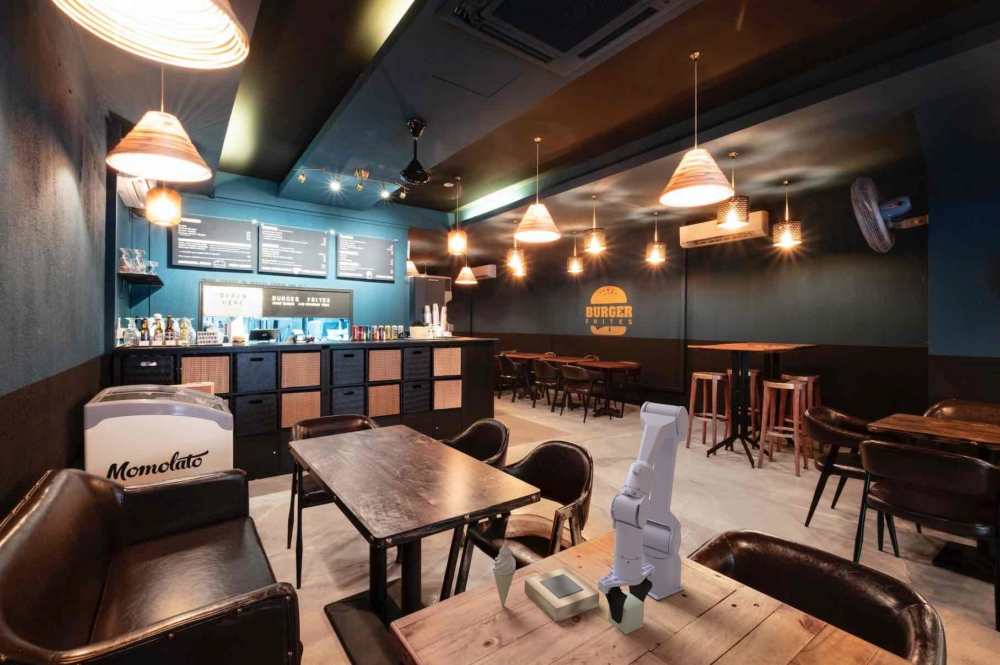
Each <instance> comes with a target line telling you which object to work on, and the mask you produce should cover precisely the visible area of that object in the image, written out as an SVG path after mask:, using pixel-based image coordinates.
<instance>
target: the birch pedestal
mask: <svg viewBox="0 0 1000 665" xmlns="http://www.w3.org/2000/svg"><path fill="white" fill-rule="evenodd" d="M523 593H525V594H526V596H528V597H529V598H530V599H531V600H532V601H533V602H534V604H536V605H537V606H538V607H539V608H540V609H541V610H542V611H543V612H544V613H545V614H546V615H547V616H548V617H550V619H551V620H552V621H553V622H555V623H559V622H561V621H564V620H567V619H569V618H572V617H574V616H576V615H579V614H583V613H584V612H588V611H589V610H592V609H596V608H597V607H599V606H600V592H599V591H598V590H597V589H595V588H594V587H592V586H591V585H590V584H589V583H587V581H585V580H584V579H582V577H581V578H580V577H579V575H577V574H576V573H574V571H571V569H569V568H568V567H566V566H564V567H562V568H557V569H555V570H551V571H548V572H544V573H541V574H538V575H535V576H533V577H529V578H526V579H524V592H523Z"/></svg>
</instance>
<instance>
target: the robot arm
mask: <svg viewBox="0 0 1000 665" xmlns="http://www.w3.org/2000/svg"><path fill="white" fill-rule="evenodd" d="M639 413H640V414H639V419H640V421H639V422H640V425H641V429H642V431H643V433H642V436H641V441H640V446H639V450H638V454H637V458H636V461H634V462H632V463H631V464H629V466H628V470H627V472H626V476H625V478H624V481H623V484H622V486H621V490H620V493H619V494H616V495H614V497H613V498H612V501H611V506H610V517H611V520H612V529H614V548H613V550H614V551H613V564H612V565H611V567H610V569H611V571H609V572H608V573H607V574H606V575H605V576H603V578H601V579H599V580H598V582H597V584H598V586H597V587H598V588H597V589H598V590H599V591H600V592H601V593H602V594H604V595H605V598H606V601H607V604H608V609H609V608H610V612H611V617H612V619H613V620H614V621H615V622H617V623H618V624H619V623H621V621H622V614H623V607H624V603H625V600H626V598H627V595H626V594H624V593H623V591H622V588H621V587H628V590H629V591H628V592H629V593H631V594H632V595H634V596H635V597H636V598H638V599H639V600H641V601H642V602H643V603H644V604H645V600H646V598H647V596H649V597H651V598H653V599H654V600H655V601H659V600H662V599H664V598H667V597H668V596H671V595H674V594H676V593H678V592H680V591H683V590H684V586H682V585H681V580H682V579H681V578H682V559H681V556H680V554H679V551H680V550H681V549H680V548H681V545H682V544H681V543H682V533H681V532H682V530H681V529H682V525H681V522H680V520H679V519H678V518H677V517H676V515H675V514H674V513H673V512H672V511H671V504H672V503H671V502H672V497H673V496H672V495H673V487H674V480H675V478H674V477H675V470H676V469H675V467H676V461H677V460H676V459H677V452H678V446H679V443H682V442H685V441H686V439H687V435H688V426H689V425H688V423H689V414H688V411H687V409H686V407H685V406H681V405H680V406H678V405H671V404H662V403H656V402H655V403H654V402H650V401H645V402H644V403H643V404H642V406H641V409H640V412H639Z"/></svg>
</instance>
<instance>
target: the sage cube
mask: <svg viewBox="0 0 1000 665" xmlns="http://www.w3.org/2000/svg"><path fill="white" fill-rule="evenodd" d="M622 592H623V593H624V594H626V595H627V598H626V600H625V603H624V607H623V614H622V621H621V623H619V624H618V623H617V622H615V621H614V620H613V619H612V617H611V612H610V608H609V607H608V621H609V622H610V623H611V624H613V625H614V626H615V627H616V628H618V629H619V630H620V631H621V632H623V634H625V635H628V634H630V633H632V632H634V631H637V630H639V629H642V628H643V627H644V618H645V617H644V615H645V614H644V613H645V612H644V611H645V602H644V603H643V602H642V601H641V600H639V599H638V598H636V597H635V596H634V595H632V594H631V593H630V591H628V590H624V591H622Z"/></svg>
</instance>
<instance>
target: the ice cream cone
mask: <svg viewBox="0 0 1000 665" xmlns="http://www.w3.org/2000/svg"><path fill="white" fill-rule="evenodd" d="M498 552H499V553H498V554H497V557H495V559H494V560H495V562H493V565H494V566H493V567H492V572H493V575H494V580H495V583H496V587H497V592H498V596H499V600H500V605H501V607H504V606H505V604H506V601H507V597H508V594H509V591H510V588H511V585H512V581H513V578H514V574H515V573H516V565H517V564H516V563H517V562H516V559H515V558H514V557H513V555H512V550H511V549H510V547H509V544H508V541H507V539H506V538H505V539H504V541H503V544H502V546H501V547H500V549H499V551H498Z"/></svg>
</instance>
